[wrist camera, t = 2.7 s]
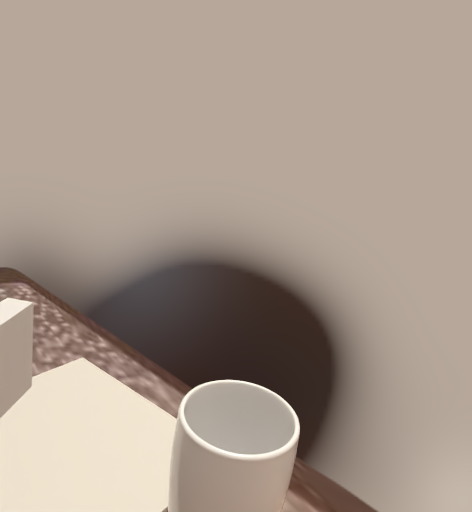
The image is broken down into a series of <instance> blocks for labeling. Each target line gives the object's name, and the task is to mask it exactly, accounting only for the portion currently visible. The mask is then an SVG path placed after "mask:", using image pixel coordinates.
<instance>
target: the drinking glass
mask: <svg viewBox="0 0 472 512" xmlns="http://www.w3.org/2000/svg"><path fill="white" fill-rule="evenodd" d="M299 433H300V425H299V420H298V418H297V416H296V413H295V412H294V410H293V409H292V407H291V406H290V405H289V404H288V403H287V402H286V401H285V400H284V399H283V398H281V397H280V396H279V395H277V394H275V393H274V392H272V391H270V390H268V389H266V388H264V387H262V386H259V385H256V384H253V383H248V382H243V381H237V380H219V381H213V382H208V383H205V384H202V385H199V386H197V387H195V388H194V389H192V390H191V391H190V392H188V393H187V394H186V395H185V397H184V398H183V400H182V401H181V404H180V406H179V412H178V417H177V422H176V427H175V433H174V438H173V445H172V452H171V461H170V473H169V495H168V512H281V511H282V508H283V505H284V502H285V498H286V495H287V491H288V488H289V484H290V480H291V476H292V471H293V467H294V462H295V456H296V450H297V444H298V437H299Z"/></svg>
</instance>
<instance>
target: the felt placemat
mask: <svg viewBox="0 0 472 512" xmlns="http://www.w3.org/2000/svg"><path fill="white" fill-rule="evenodd" d="M176 422H177V419H176V418H174V417H173V416H171V415H170V414H168V413H167V412H165V411H164V410H162V409H161V408H159V407H158V406H156V405H154V404H153V403H151V402H150V401H148V400H147V399H145V398H144V397H142V396H141V395H139V394H138V393H136V392H135V391H133V390H132V389H130V388H128V387H127V386H125V385H124V384H122V383H121V382H119V381H118V380H116V379H115V378H113V377H112V376H110V375H109V374H107V373H106V372H104V371H102V370H101V369H99V368H98V367H96V366H95V365H93V364H92V363H90V362H89V361H87V360H86V359H84V358H80V359H78V360H75V361H72V362H70V363H67V364H65V365H62V366H60V367H57V368H54V369H52V370H49V371H47V372H44V373H42V374H39V375H37V376H34V377H32V387H31V388H30V389H29V390H28V391H27V392H26V393H25V394H24V395H23V396H22V397H21V398H20V399H19V400H18V401H17V402H16V403H15V404H14V405H13V406H12V407H11V408H10V409H9V410H8V411H7V412H6V413H5V414H4V415H3V416H2V417H1V418H0V512H167V511H168V495H169V473H170V461H171V452H172V445H173V438H174V433H175V427H176Z"/></svg>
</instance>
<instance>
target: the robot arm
mask: <svg viewBox="0 0 472 512" xmlns="http://www.w3.org/2000/svg"><path fill="white" fill-rule="evenodd" d="M32 344H33V302H28V301H22V300H17V299H11V298H6V299H5V300H3V301H2V302H0V418H1V417H2V416H3V415H4V414H5V413H6V412H7V411H8V410H9V409H10V408H11V407H12V406H13V405H14V404H15V403H16V402H17V401H18V400H19V399H20V398H21V397H22V396H23V395H24V394H25V393H26V392H27V391H28V390H29V389H30V388H31V387H32Z"/></svg>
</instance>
